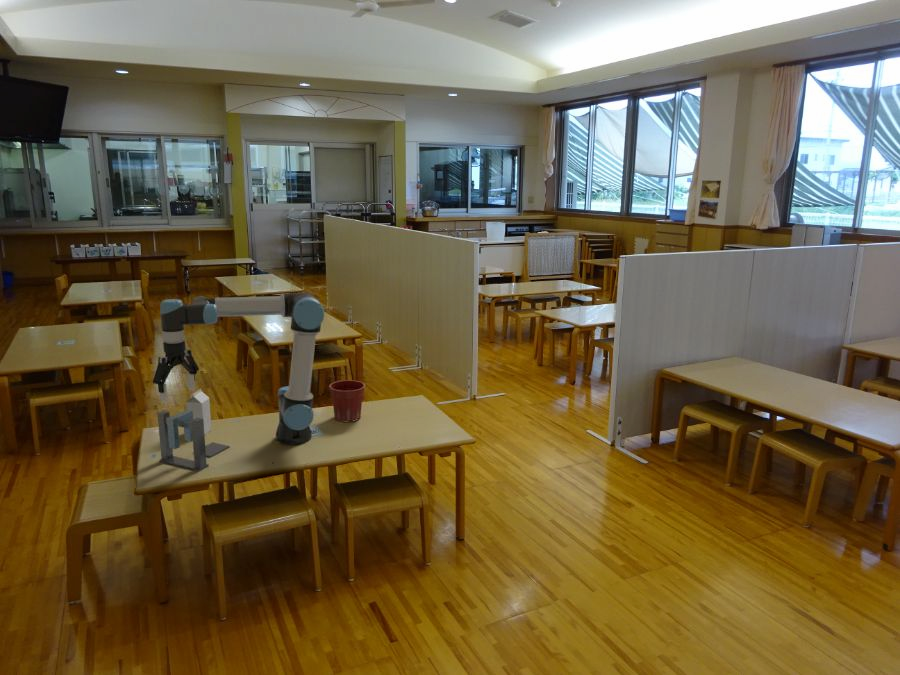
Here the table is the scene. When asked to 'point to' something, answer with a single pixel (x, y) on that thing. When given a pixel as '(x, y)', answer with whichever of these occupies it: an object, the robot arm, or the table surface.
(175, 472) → the table surface
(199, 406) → the milk carton
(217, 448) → the mat
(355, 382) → the flower pot
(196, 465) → the rail
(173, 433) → the bracket
